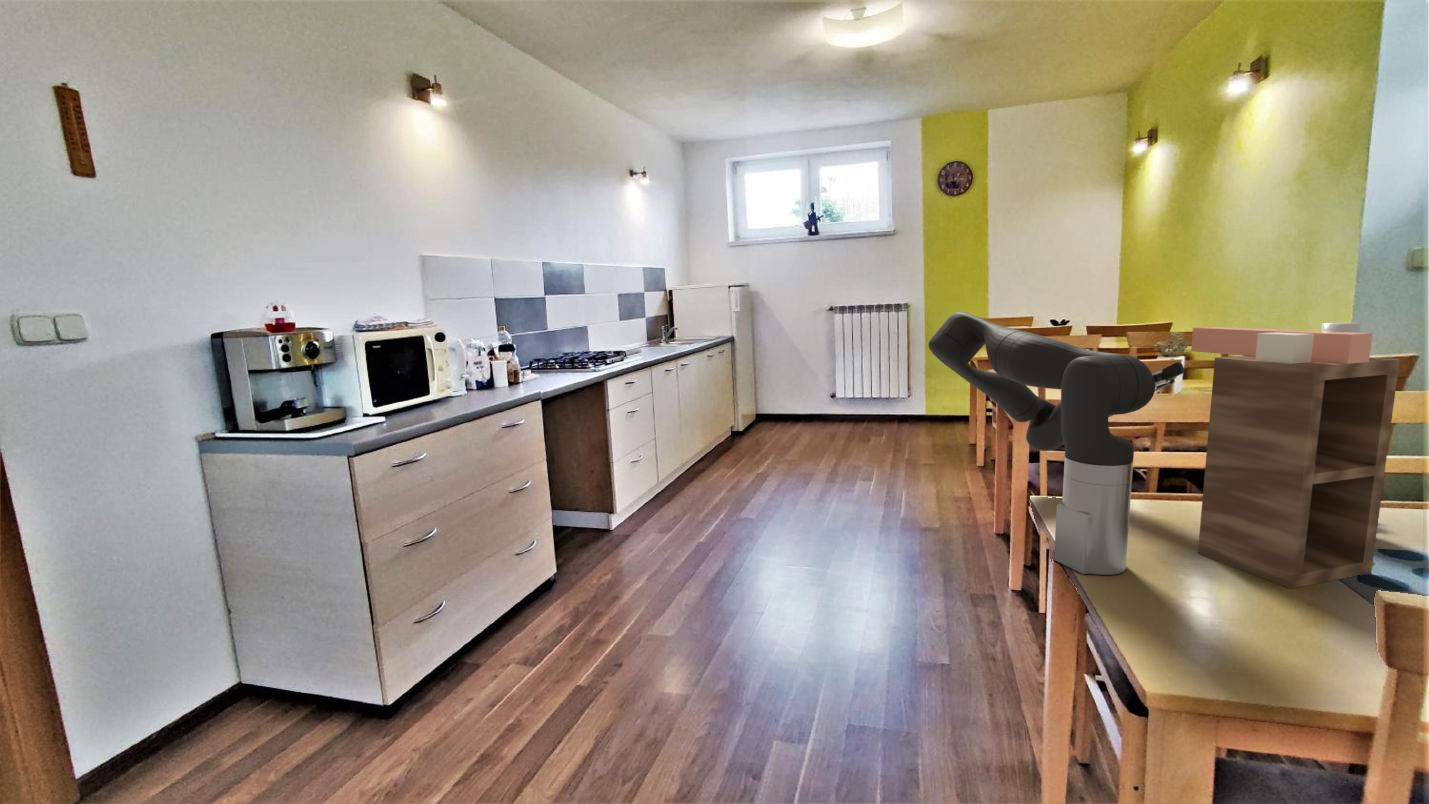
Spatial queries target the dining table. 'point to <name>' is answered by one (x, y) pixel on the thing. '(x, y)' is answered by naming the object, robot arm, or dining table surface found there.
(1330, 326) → the grey-blue round brick
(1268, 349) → the off-white block brick
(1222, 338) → the coral bar brick
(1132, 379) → the robot arm
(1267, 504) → the walnut shelf
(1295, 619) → the dining table surface
